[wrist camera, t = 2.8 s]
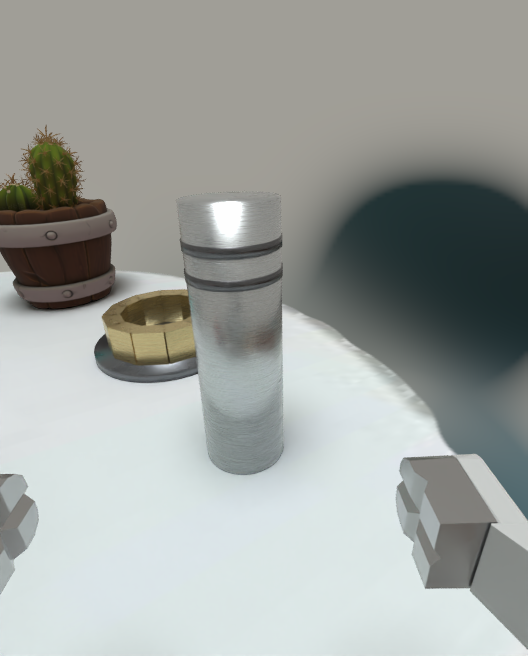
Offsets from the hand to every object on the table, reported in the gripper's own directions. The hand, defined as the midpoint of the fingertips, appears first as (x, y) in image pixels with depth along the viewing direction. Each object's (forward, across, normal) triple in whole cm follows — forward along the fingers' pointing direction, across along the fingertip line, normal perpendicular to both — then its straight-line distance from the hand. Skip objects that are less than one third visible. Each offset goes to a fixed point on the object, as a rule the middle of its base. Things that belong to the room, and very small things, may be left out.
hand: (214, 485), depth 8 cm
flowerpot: (+41, +24, +10) cm, 49 cm away
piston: (+12, 0, +10) cm, 16 cm away
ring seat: (+26, +8, +10) cm, 30 cm away
